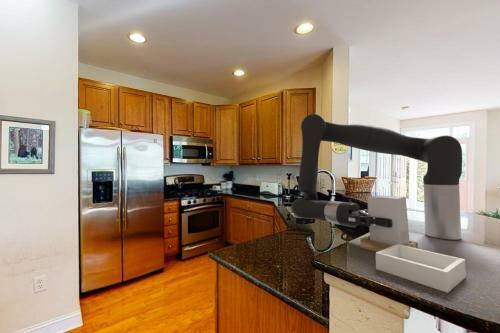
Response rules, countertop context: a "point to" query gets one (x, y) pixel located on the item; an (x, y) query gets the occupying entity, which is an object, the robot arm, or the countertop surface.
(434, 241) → the countertop surface
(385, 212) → the skincare box
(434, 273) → the tray
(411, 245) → the holder
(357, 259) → the countertop surface
